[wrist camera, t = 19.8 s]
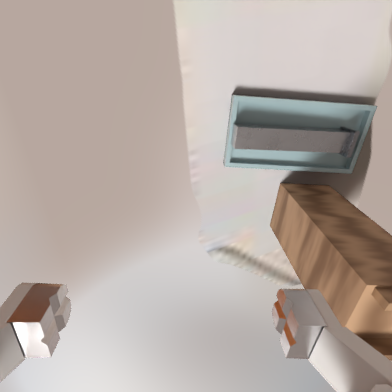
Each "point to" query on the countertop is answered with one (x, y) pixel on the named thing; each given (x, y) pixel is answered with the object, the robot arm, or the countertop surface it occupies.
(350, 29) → the countertop surface
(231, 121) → the tray
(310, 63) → the countertop surface
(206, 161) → the countertop surface
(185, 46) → the countertop surface
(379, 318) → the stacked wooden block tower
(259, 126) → the gray rectangular bar
